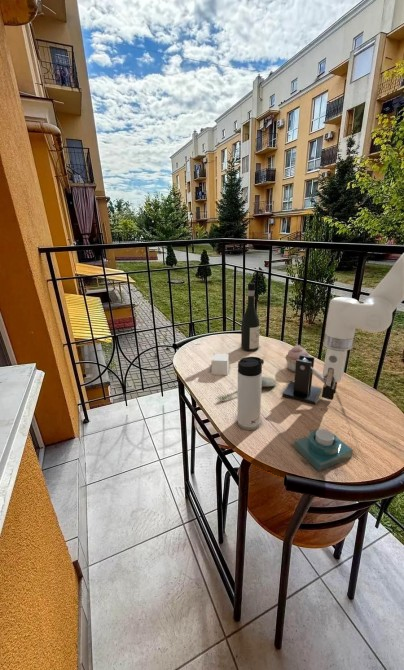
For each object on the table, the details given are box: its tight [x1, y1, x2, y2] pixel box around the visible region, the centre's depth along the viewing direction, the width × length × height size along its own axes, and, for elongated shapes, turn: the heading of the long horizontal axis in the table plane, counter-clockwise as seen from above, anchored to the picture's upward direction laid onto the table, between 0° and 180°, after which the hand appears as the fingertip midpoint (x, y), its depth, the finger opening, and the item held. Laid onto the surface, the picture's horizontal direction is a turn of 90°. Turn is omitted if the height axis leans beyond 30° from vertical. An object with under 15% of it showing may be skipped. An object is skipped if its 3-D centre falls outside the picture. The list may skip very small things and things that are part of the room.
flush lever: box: [302, 357, 338, 391], centre depth 87 cm, size 13×3×3 cm
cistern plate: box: [294, 429, 354, 472], centre depth 67 cm, size 10×8×4 cm
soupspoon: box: [219, 376, 276, 402], centre depth 94 cm, size 22×3×7 cm
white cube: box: [210, 353, 230, 376], centre depth 108 cm, size 6×6×6 cm
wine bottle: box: [240, 282, 261, 352], centre depth 124 cm, size 8×8×30 cm
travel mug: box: [237, 356, 265, 431], centre depth 76 cm, size 6×7×20 cm
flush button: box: [315, 428, 335, 446], centre depth 66 cm, size 4×4×2 cm
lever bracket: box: [282, 355, 322, 406], centre depth 90 cm, size 10×9×13 cm
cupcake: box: [284, 344, 310, 373], centre depth 107 cm, size 9×9×10 cm
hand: (328, 394), depth 87 cm, fingers closed on flush lever, 3 cm apart
